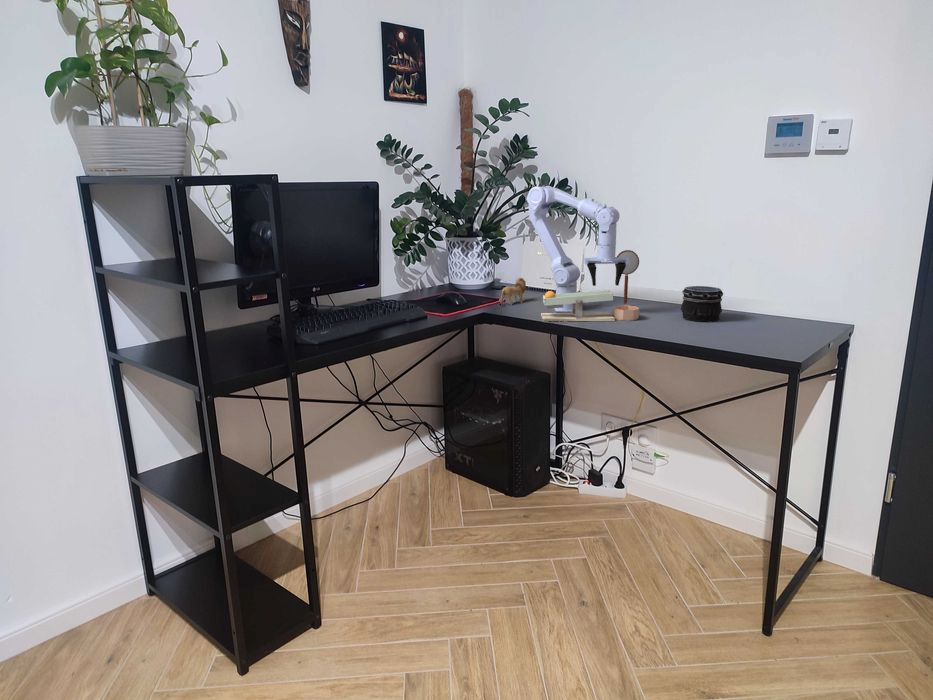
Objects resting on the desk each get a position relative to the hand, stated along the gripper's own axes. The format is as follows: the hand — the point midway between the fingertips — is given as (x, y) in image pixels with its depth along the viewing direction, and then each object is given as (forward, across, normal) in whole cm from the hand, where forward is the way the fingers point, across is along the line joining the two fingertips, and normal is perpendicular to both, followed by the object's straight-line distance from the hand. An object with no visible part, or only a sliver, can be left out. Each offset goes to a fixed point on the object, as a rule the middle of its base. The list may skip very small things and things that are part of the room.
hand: (605, 285), depth 223 cm
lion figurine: (+10, -30, +22) cm, 39 cm away
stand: (+10, -10, -7) cm, 16 cm away
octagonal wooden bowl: (+10, +6, -7) cm, 13 cm away
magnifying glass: (+10, +10, +14) cm, 20 cm away
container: (+10, +30, -8) cm, 33 cm away
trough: (+5, -10, -4) cm, 12 cm away
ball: (+2, -19, -7) cm, 20 cm away
